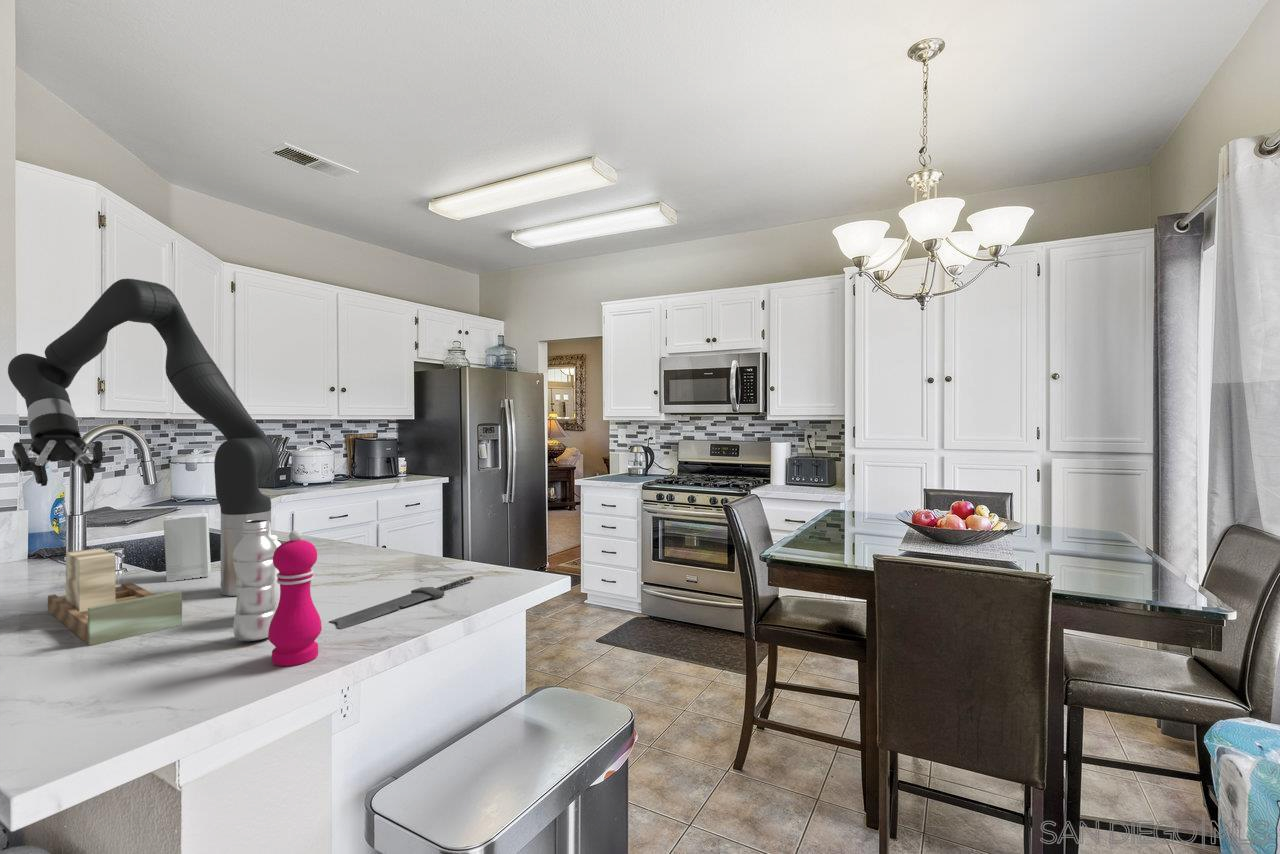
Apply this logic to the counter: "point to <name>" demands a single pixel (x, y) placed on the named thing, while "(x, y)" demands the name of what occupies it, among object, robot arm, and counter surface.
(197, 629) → the counter surface
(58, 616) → the trap deck
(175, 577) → the skincare box
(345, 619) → the toy broadsword
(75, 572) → the maple block
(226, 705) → the counter surface
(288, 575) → the pepper mill
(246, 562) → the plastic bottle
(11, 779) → the counter surface
